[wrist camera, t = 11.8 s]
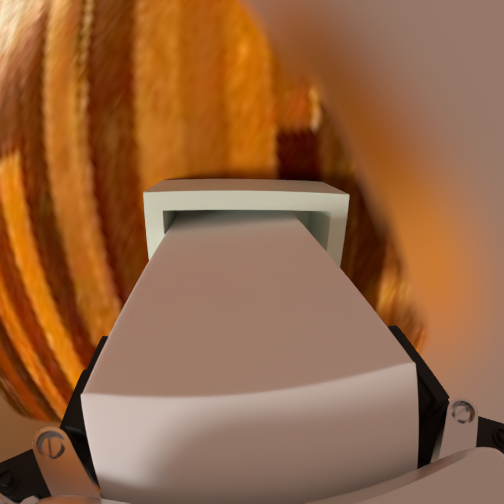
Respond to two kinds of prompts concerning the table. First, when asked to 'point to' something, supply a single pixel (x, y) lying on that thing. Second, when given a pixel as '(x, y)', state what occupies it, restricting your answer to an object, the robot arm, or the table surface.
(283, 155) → the table surface
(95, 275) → the table surface
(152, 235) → the crate
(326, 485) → the milk carton
